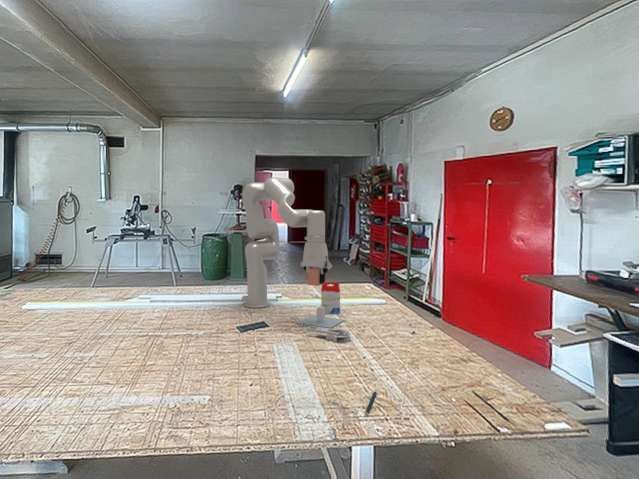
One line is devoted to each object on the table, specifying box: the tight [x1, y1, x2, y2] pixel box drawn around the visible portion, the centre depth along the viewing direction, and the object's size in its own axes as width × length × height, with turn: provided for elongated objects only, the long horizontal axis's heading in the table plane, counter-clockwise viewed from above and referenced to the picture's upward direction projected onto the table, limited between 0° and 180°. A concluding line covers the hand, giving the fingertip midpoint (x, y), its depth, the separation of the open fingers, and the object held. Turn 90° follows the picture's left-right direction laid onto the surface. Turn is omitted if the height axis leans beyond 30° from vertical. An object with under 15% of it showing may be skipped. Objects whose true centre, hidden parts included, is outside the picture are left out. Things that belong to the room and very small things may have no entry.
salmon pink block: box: [306, 267, 324, 287], centre depth 207 cm, size 5×5×7 cm
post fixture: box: [296, 306, 345, 329], centre depth 210 cm, size 16×14×7 cm
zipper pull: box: [306, 326, 351, 344], centre depth 188 cm, size 8×18×4 cm, turn 61°
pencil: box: [364, 391, 377, 417], centre depth 129 cm, size 1×1×15 cm
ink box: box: [320, 281, 341, 315], centre depth 227 cm, size 8×5×15 cm, turn 84°
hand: (316, 282), depth 208 cm, fingers closed on salmon pink block, 5 cm apart
